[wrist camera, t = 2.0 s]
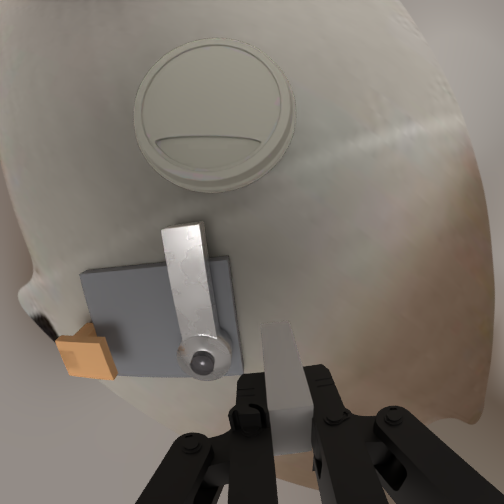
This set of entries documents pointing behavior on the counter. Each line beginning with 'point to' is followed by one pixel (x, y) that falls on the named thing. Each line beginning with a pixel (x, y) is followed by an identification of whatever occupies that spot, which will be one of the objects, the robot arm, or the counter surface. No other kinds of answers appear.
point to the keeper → (87, 354)
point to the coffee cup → (214, 115)
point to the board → (152, 316)
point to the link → (195, 303)
